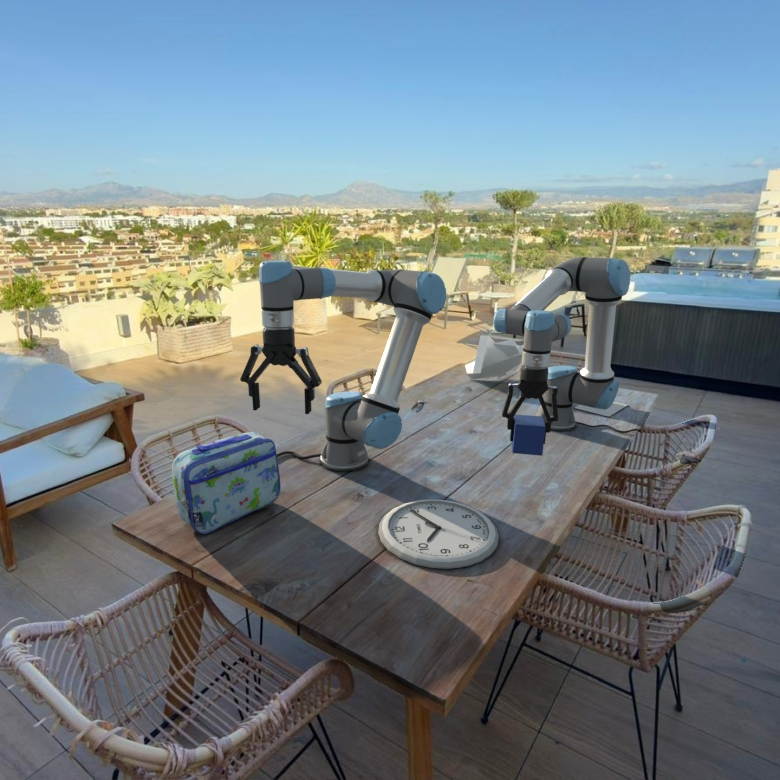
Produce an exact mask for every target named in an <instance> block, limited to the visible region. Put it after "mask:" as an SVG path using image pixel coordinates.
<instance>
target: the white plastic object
mask: <svg viewBox="0 0 780 780" xmlns="http://www.w3.org/2000/svg"><path fill="white" fill-rule="evenodd" d="M478 340H479V341H478V346H477V350H476V355H475V358H474V359H475V360H474V361H471V362H470V363H467V364H465V365H464V367H465V370H466V371H465V372H466V375H467V376H468V378H469V379H470V380H477V379H478V380H479V379H486V378H487V379H488V378H496V377H497V379H499V378H502V377H505V376H507V375H508V372H510V371H511V370H513V369H514V368H515V367H517V366H518V365H520V364H522V353H523V345H524V344H521V345H519V344H517V343H516V340H515V339H514V338H512V339H507V340H503V341H498V342H495V341H494V340H493V339H492V338H491V336H490V335H488V334H483V335H480V336H479V339H478Z"/></svg>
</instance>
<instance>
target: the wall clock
mask: <svg viewBox="0 0 780 780" xmlns="http://www.w3.org/2000/svg"><path fill="white" fill-rule="evenodd" d="M377 534H378V536H379V540H380V542H381V544H382V545H383V546H384V547H385V549H386V550H387V551H388V552H390V553H391V554H393V555H394V556H395V557H397V558H399V559H400V560H403V561H405V562H407V563H410V564H412V565H415V566H420V567H426V568H429V569H443V570H446V569H447V570H450V569H451V570H452V569H460V568H466V567H469V566H472V565H475V564H478V563H481V562H483V561H484V560H486V559H487V558H489V557H490V556H491V555H492V554H493V553H494V552H495V551H496V549H497V548H498V545H499V540H500V535H499V531H498V528H497V526H496V525H495V523H493V521H492V520H491V519H490V518H489V517H488V516H486V515H485V514H484V513H482V512H481V511H479V510H477V509H475V508H473V507H471V506H469V505H466V504H463V503H459V502H457V501H452V500H445V499H430V498H429V499H420V500H414V501H410V502H407V503H405V502H404V503H403V504H401V505H398V506H396V507H394V508H392V509H391V510H390V511H388V512H387V513H386V514H384V516H383V517H382V518H381V520H380V521H379V524H378V531H377Z"/></svg>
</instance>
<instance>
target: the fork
mask: <svg viewBox="0 0 780 780" xmlns="http://www.w3.org/2000/svg"><path fill="white" fill-rule="evenodd" d="M425 397H426V395H420V396H419V397H418V398H417V402H416V403H414V404H413V406H412V407H411V410H413V409H415V408H416V407H418V405H419V403H423V402H424V400H425Z"/></svg>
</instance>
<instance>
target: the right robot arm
mask: <svg viewBox="0 0 780 780" xmlns="http://www.w3.org/2000/svg"><path fill="white" fill-rule="evenodd" d="M630 285H631V269H630V266H629V265H628V262H627V261H626V260H624V259H622V258H621V259H620V258H614V257H592V256H591V257H590V256H589V257H588V256H587V257H586V256H578V257H572V258H570V259H567V260H564V261H562V262H560V263H558V264H557V265H555V266H554V267H552V268H550V270H548V271H547V272H546V274H545V275H544V278H543V279H542V281H540V282H539V283H538V284H537V285H535V286H534V288H533V289H531V290H530V291H529V292H528V293H527V294H526V295H525V296H523V297H522V298H521V299H520V300H519V301H518V302H517V303H515V304H514V305H513V306H512V307H511V308H507V307H506V308H499V309H497V310H496V312H495V313H494V316H493V328H494V330H495V331H496V332H498V333H502V334H505V335H512V336H518V337H519V336H520V337H523V344H522V345H523V353H522V362H521V366H520V374H519V380H518V382H517V383H512V382H509V383H508V385H507V386H508V387H507V388H508V391H507V393H506V394H507V395H506V398H505V401H504V405H503V408H502V410H501V417H502V418H504V419H505V418H506V419H507V423H506V428H507V430H508V431H509V432H510V433H509V441H510V442H511V441H513V435H514V425H515V418H514V416H515V414H516V415H517V412H518V411H519V409H520V408H521V406H522V404H523V403H524V402H525V400H527V399H533V400H539V404H540V405H539V407H538V410H537V411H536V413H535V416H542V417H543V420H544V423H545V426H546V428H545V437H544V445H546V440H547V439H546V437H547V433H548V434H550V432H551V431H556V432H567V431H572V430H574V429H575V428H576V424H577V425H581V426H584V427H587V428H600V427H603V428H605V427H606V428H608V429H611V430H613V431H615V432H617V433H620V434H627V433H631V432H635V431H637V432H638V433H640V434H643V431H642V430H641V429H639V428H632V429H628V430H619V429H616V428H615V427H613V426H611V425H608V424H597V425H591V424H587V423H584V422H581V421H576V418H575V417H576V416H575V413H574V407H573V405H574V404H576V405H584V406H588V407H593V408H595V409H596V408H598V409H604V410H605V409H608V408H609V407H610V406H611V405H612V403H613V402H615V399H616V397H617V395H618V391H619V389H620V380H618V379H617V378H615V371H613V370H612V369H611V364H612V353H613V343H614V333H615V322H616V312H617V304H618V303H620V302H621V301H622V299H623V297H624V296H626V295H627V294H628V292H629V290H630ZM569 292H579V293H584V294H585V296H584V300H585V301H586V302H587V303H588V304H589V306H588V317H587V318H588V319H587V331H586V343H585V357H584V367H583V368H581V369H580V370H579V372H578V368H577V366H572V365H553V366H550V360H551V352H552V351H551V350H552V343H553V342H556V341H559V340H563V339H564V338H565V337H567V336H568V335H569V334H570V332H571V330H572V325H573V324H572V321H571V319H570V317H569V316H568V315H567V314H565V313H557V312H555V313H554V312H553V311H549V310H546V309H547V308H549V306H550V305H551V304H553V302H555V300H557V299H558V298H559V297H560V296H564V295H566V294H568V293H569ZM549 366H550V367H549ZM517 389H518V390H519V391H520V393H519V396H518V397H517V399H516V401H515V403H514V404H513V406H512V408H511V409H510V406H511V402H512V399H513V396H514V392H516V391H517ZM509 409H510V411H509Z"/></svg>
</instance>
